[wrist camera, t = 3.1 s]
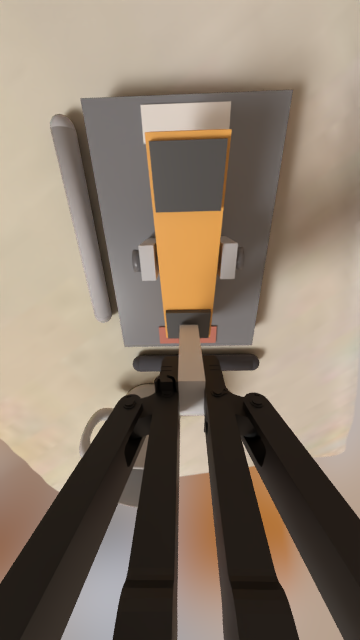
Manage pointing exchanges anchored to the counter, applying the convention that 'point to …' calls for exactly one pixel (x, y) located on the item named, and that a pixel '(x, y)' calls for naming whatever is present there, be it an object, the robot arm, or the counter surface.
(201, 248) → the lever
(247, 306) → the panel
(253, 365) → the black rounded bar
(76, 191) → the grey rod
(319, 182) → the counter surface
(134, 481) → the mug
